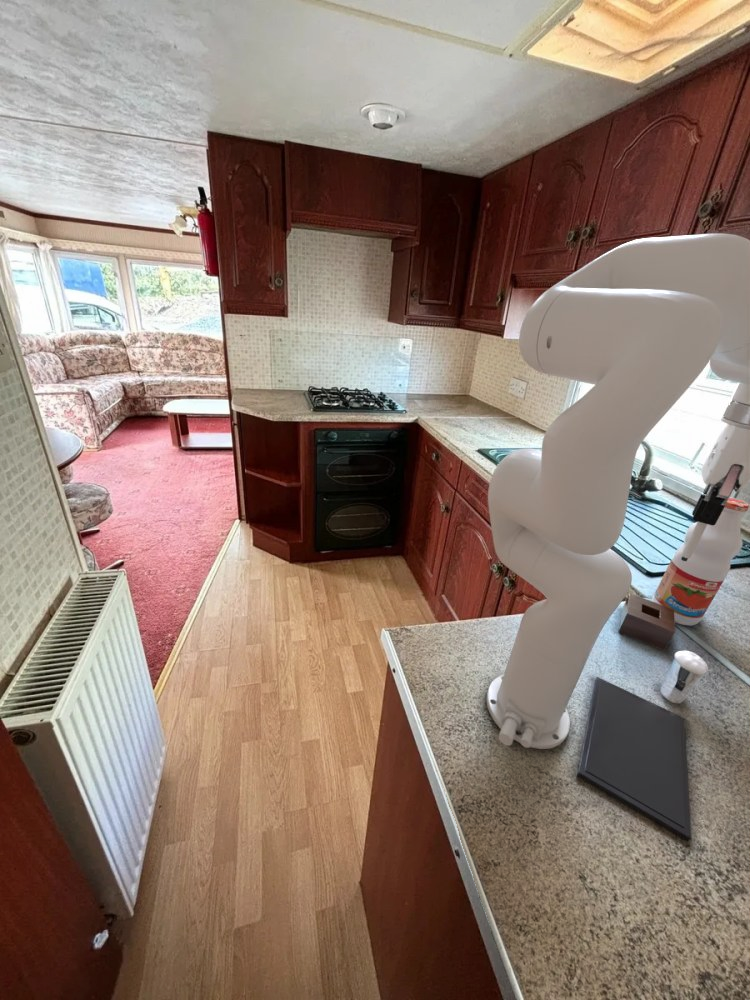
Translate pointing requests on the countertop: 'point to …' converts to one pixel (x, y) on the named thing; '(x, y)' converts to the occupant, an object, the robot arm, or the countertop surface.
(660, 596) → the fruit juice
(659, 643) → the pen stand
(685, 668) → the milkshake
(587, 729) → the tablet
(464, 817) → the countertop surface
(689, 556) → the stylus
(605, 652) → the countertop surface
